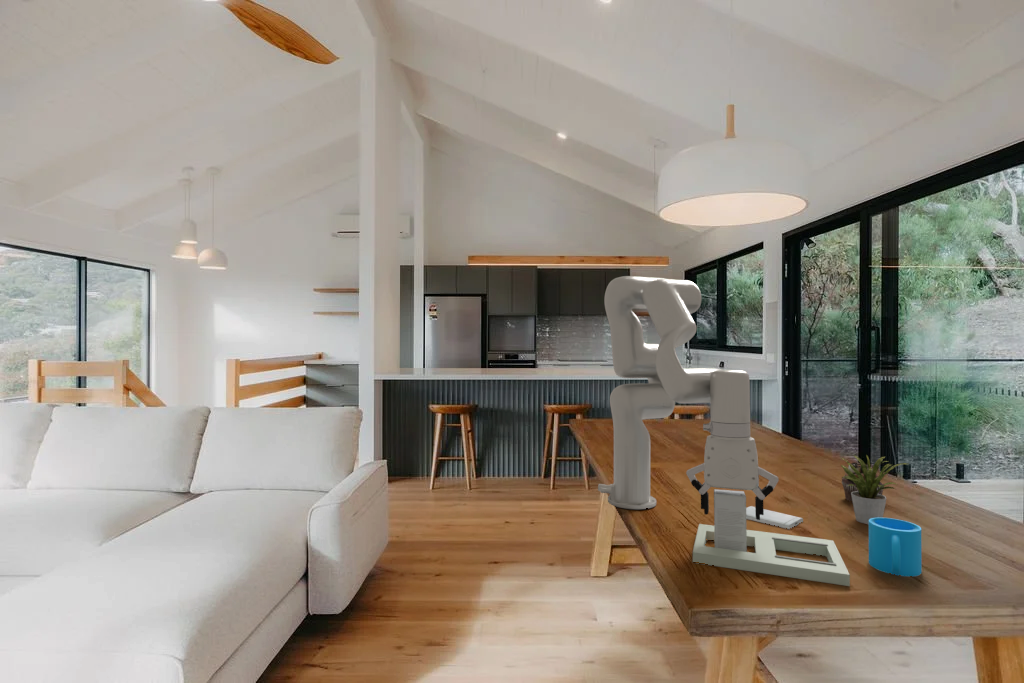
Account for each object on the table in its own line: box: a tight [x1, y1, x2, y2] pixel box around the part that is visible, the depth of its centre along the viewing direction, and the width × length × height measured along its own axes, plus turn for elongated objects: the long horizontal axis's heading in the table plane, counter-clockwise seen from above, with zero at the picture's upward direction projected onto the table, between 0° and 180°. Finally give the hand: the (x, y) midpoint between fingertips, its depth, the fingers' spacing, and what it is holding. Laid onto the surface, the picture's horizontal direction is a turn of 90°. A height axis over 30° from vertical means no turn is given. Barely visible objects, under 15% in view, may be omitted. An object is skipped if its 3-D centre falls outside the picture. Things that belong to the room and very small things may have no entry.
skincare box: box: [713, 488, 748, 552], centre depth 110 cm, size 6×4×12 cm
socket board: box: [692, 523, 851, 587], centre depth 107 cm, size 26×18×2 cm
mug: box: [868, 517, 923, 577], centre depth 101 cm, size 12×8×8 cm
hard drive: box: [746, 505, 804, 530], centre depth 131 cm, size 2×8×12 cm
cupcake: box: [841, 462, 885, 503], centre depth 146 cm, size 10×10×10 cm
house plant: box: [840, 454, 908, 525], centre depth 129 cm, size 14×14×16 cm
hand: (731, 515), depth 109 cm, fingers open, 9 cm apart
